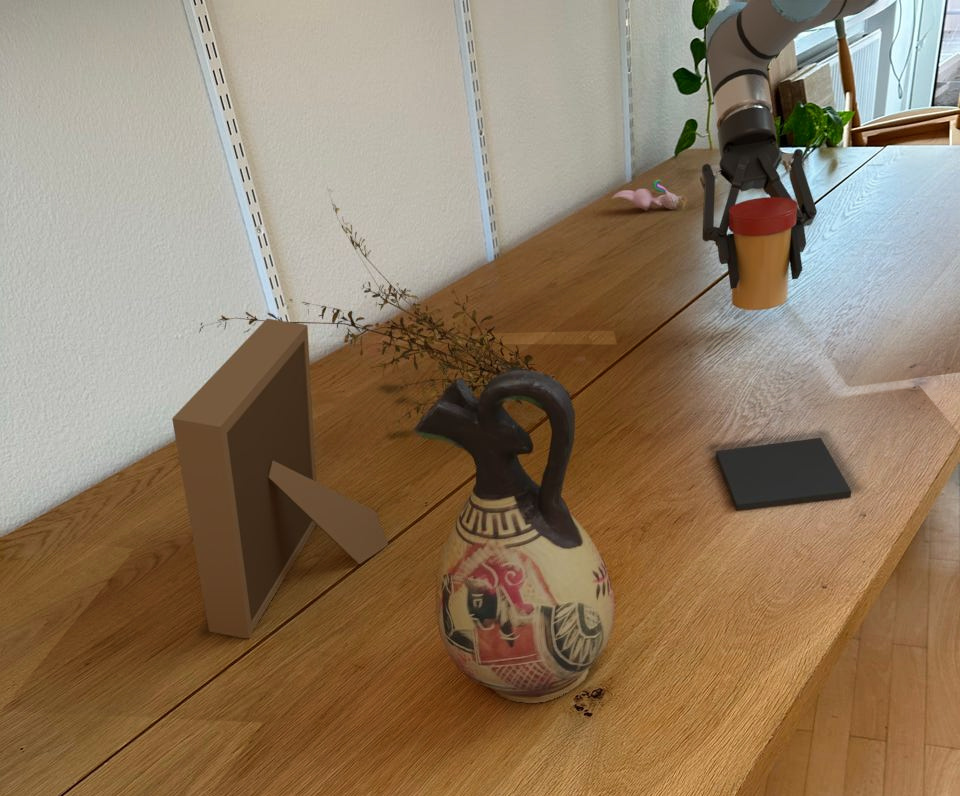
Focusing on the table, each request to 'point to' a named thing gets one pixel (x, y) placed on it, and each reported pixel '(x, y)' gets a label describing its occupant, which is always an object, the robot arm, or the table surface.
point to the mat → (781, 474)
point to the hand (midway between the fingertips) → (766, 278)
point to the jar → (762, 270)
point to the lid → (763, 216)
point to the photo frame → (259, 478)
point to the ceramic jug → (517, 549)
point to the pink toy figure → (645, 199)
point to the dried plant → (426, 341)
